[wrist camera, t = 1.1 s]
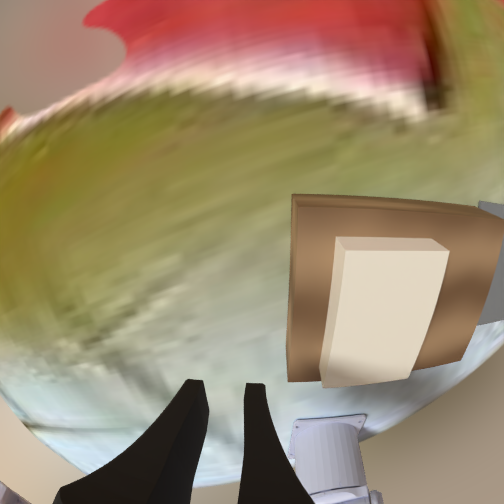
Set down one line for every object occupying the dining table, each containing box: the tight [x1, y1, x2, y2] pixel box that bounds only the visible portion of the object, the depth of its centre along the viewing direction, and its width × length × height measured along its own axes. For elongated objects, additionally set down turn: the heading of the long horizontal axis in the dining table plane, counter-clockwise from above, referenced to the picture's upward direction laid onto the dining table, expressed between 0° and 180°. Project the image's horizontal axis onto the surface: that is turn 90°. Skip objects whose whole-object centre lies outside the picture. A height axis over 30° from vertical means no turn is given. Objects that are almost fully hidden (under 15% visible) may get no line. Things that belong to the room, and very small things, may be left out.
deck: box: [286, 194, 504, 382], centre depth 17 cm, size 12×15×4 cm
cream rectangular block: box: [319, 237, 450, 388], centre depth 14 cm, size 9×6×2 cm, turn 1°
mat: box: [477, 201, 504, 325], centre depth 18 cm, size 12×10×1 cm
